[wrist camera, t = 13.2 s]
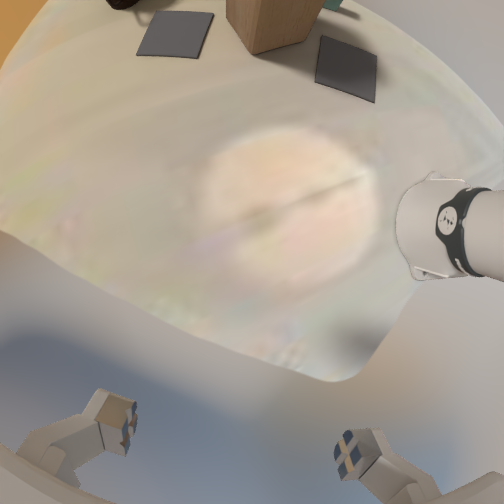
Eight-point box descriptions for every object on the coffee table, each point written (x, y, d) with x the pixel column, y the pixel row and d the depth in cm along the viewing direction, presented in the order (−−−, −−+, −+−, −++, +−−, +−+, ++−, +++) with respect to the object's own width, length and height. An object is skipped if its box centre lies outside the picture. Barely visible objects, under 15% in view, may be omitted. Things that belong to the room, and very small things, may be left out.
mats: (375, 56, 36) (376, 55, 35) (372, 102, 37) (374, 102, 37) (156, 12, 32) (156, 10, 31) (136, 55, 33) (135, 54, 33)
